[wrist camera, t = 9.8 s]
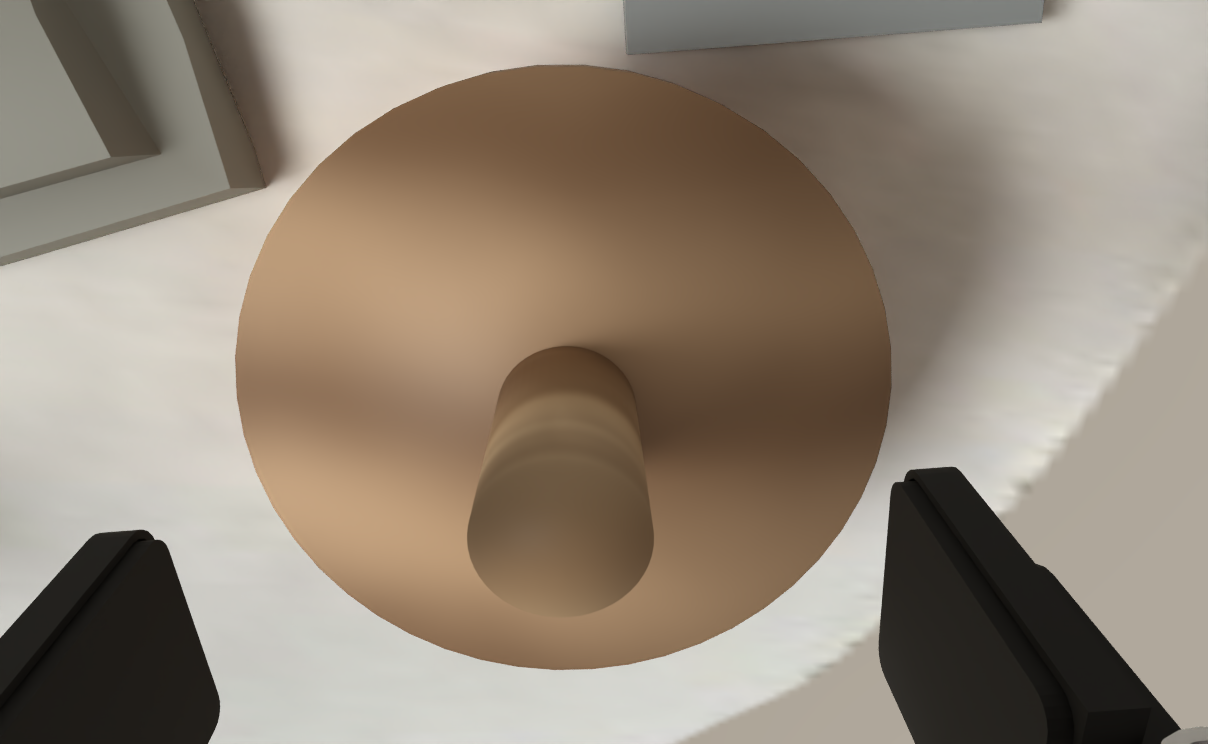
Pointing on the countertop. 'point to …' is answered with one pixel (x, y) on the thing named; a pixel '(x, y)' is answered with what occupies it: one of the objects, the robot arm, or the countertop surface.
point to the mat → (804, 20)
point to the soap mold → (111, 121)
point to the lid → (563, 367)
